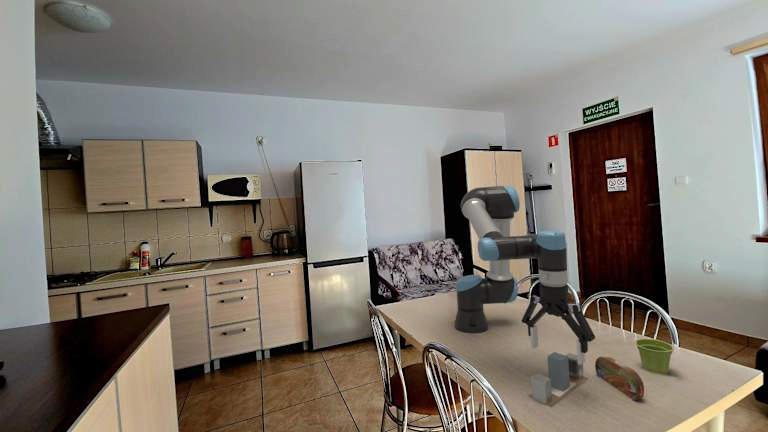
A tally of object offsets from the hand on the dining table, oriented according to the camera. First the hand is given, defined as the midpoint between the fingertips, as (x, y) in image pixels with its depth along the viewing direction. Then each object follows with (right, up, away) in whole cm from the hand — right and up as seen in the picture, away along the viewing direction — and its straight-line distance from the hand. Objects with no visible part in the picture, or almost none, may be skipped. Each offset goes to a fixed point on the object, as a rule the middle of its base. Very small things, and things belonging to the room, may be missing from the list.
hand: (556, 354), depth 95 cm
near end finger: (-7, -10, -6) cm, 14 cm away
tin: (+17, -10, -2) cm, 20 cm away
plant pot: (+35, -9, +7) cm, 36 cm away
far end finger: (+8, -9, +5) cm, 13 cm away
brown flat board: (+1, -11, 0) cm, 11 cm away
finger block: (+1, -9, 0) cm, 9 cm away
